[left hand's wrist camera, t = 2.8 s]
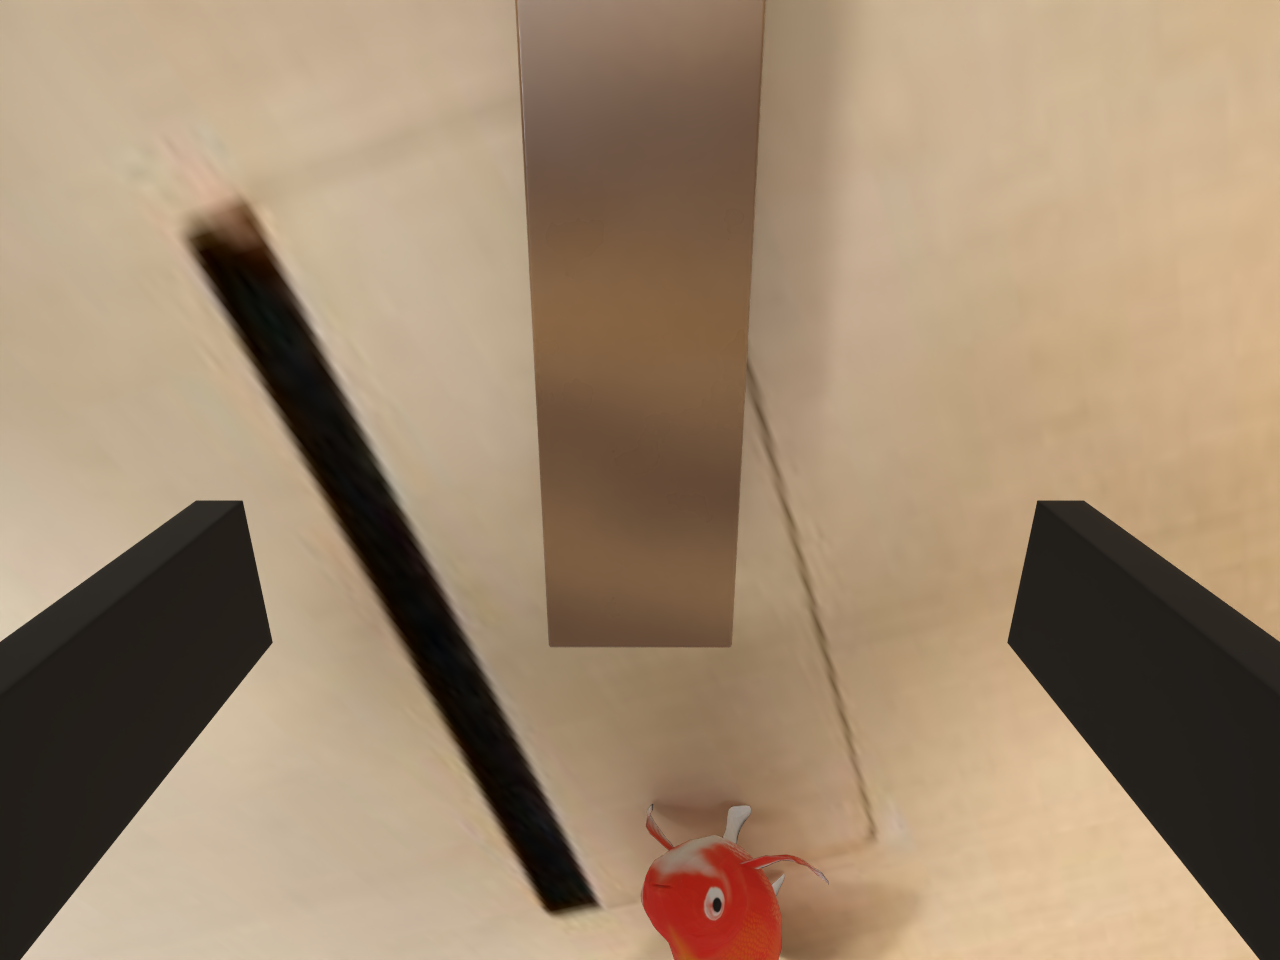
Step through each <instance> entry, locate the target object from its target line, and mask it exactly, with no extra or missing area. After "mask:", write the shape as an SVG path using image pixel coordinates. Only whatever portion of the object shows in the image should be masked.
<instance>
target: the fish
mask: <svg viewBox="0 0 1280 960" xmlns="http://www.w3.org/2000/svg"><path fill="white" fill-rule="evenodd" d="M652 810H653V804H652V805H651V806H650V807H649V808H648V809H647V823H646V827H647V829H648V831H649V832H650V834H651V835H652V836H653V837H655V838H656V839H657V840H658V841H659V842H660V843H661V844H662V845H663V846H664V847H665V848H667V849H668V850H669V851H668V852H667V853H665V854H664V855H662V856H661V857H659V858H658V859H656V860H655V861H654V862H653V864H652V865H651V867H650V868H649V870H648V872H647V874H646V877H645V881H644V884H643V887H642V891H641V901H642V905H643V907H644V909H645V911H646V913H647V915H648V917H649V918H650V920H651V922H652V924H653V926H654V927H655V928H656V930H657V931H658V932H659V933H660V934H661V935H662V936H663V937H664V938H665V939H666V940H667V941H668V942H669V945H670V948H671V951H672V954H673V957H674V960H778V959H779V955H780V952H781V913H780V909H779V905H778V902H777V898H776V895H777V893H778V891H779V889H780V887H781V885H782V883H783V881H784V874H783V875H782V876H781V877H780V878H779V879H778V880H777V881H775V882H774V883H773V884H772V885H771V883H770V882H769V880H768V879H767V877H766V875H765V874H764V872H763V871H762V869H761V868H763V867H766V866H768V865H770V864H773V863H775V862H778V861H781V860H787V861H793V862H796V863H798V864H802V865H805V866H808V867H809V868H810V869H811V870H812V871H813V872H814V873H815V874H817V875H818V876H819V877H821V878H822V879H823V880H825V881H826V882H827V883H828V884H829V882H828V880H827V879H826V878H825V876H824V875H823V873H822V872H820V871H819V870H818V869H816V868H814V867H813V866H811V865H809V864H808V863H807V862H805V861H804V860H802V859H800V858H797V857H795V856H790V855H777V856H762V857H759V858H755V859H753V858H752V857H751V856H750V855H749V854H748V853H747V852H746V851H745V850H744V849H743V848H741V847H740V846H738V845H737V838H738V834H739V831H740V829H741V827H742V825H743V824H744V822H745V821H746V819H747V818H748V817H749V815H750V814H751V808H750V806H748V805H743V806H733V807H731V808H730V809H729V811H728V815H727V825H726V830H725V833H724V836H723V838H722V837H720V836H717V835H712V836H707V837H703V838H699V839H694V840H689V841H687V842H685V843H683V844H681V845H679V846H677V847H673V845H672V844H671V843H670V842H669V840H668V839H667V838H666V837H665V836H664V834H663V833H662V832H661V830H660V829H659V828H658V826H657V825H656V824H655V822H654V820H653V818H652V817H651V815H650V813H651V812H652Z"/></svg>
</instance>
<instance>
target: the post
mask: <svg viewBox="0 0 1280 960" xmlns="http://www.w3.org/2000/svg"><path fill="white" fill-rule="evenodd" d="M515 5H516V24H517V43H518V62H519V81H520V100H521V119H522V138H523V157H524V176H525V196H526V215H527V234H528V253H529V272H530V291H531V310H532V329H533V348H534V367H535V386H536V405H537V424H538V443H539V462H540V482H541V501H542V520H543V539H544V558H545V577H546V596H547V615H548V634H549V645H550V647H731V645H732V630H733V611H734V592H735V573H736V554H737V535H738V517H739V498H740V479H741V460H742V441H743V422H744V403H745V384H746V365H747V346H748V328H749V309H750V290H751V271H752V252H753V233H754V214H755V195H756V176H757V158H758V139H759V120H760V101H761V82H762V63H763V44H764V25H765V6H766V0H515Z"/></svg>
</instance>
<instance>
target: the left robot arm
mask: <svg viewBox="0 0 1280 960" xmlns="http://www.w3.org/2000/svg"><path fill="white" fill-rule="evenodd" d="M272 643H273V642H272V637H271V633H270V628H269V623H268V618H267V614H266V609H265V604H264V600H263V595H262V590H261V585H260V581H259V576H258V571H257V566H256V562H255V557H254V552H253V548H252V543H251V538H250V533H249V529H248V524H247V519H246V515H245V510H244V505H243V501H195V502H194V503H192V504H191V505H189V506H188V507H187V508H185V509H184V510H183V511H181V512H180V513H178V514H177V515H176V516H174V517H173V518H171V519H170V520H169V521H167V522H166V523H164V524H163V525H162V526H160V527H159V528H158V529H156V530H155V531H153V532H152V533H151V534H149V535H148V536H146V537H145V538H144V539H142V540H141V541H140V542H138V543H137V544H135V545H134V546H133V547H131V548H130V549H128V550H127V551H126V552H124V553H123V554H122V555H120V556H119V557H117V558H116V559H115V560H113V561H112V562H110V563H109V564H108V565H106V566H105V567H103V568H102V569H101V570H99V571H98V572H97V573H95V574H94V575H92V576H91V577H90V578H88V579H87V580H85V581H84V582H83V583H81V584H80V585H79V586H77V587H76V588H74V589H73V590H72V591H70V592H69V593H67V594H66V595H65V596H63V597H62V598H60V599H59V600H58V601H56V602H55V603H54V604H52V605H51V606H49V607H48V608H47V609H45V610H44V611H42V612H41V613H40V614H38V615H37V616H36V617H34V618H33V619H31V620H30V621H29V622H27V623H26V624H24V625H23V626H22V627H20V628H19V629H18V630H16V631H15V632H13V633H12V634H11V635H9V636H8V637H6V638H5V639H4V640H2V641H1V642H0V960H21V958H22V957H23V956H24V954H25V953H26V952H27V951H28V949H29V948H30V947H31V946H32V944H33V943H34V942H35V941H36V939H37V938H38V937H39V936H40V934H41V933H42V932H43V931H44V929H45V928H46V927H47V926H48V924H49V923H50V922H51V921H52V919H53V918H54V917H55V916H56V914H57V913H58V912H59V910H60V909H61V908H62V907H63V905H64V904H65V903H66V902H67V900H68V899H69V898H70V897H71V895H72V894H73V893H74V892H75V890H76V889H77V888H78V887H79V885H80V884H81V883H82V882H83V880H84V879H85V878H86V877H87V875H88V874H89V873H90V872H91V870H92V869H93V868H94V866H95V865H96V864H97V863H98V861H99V860H100V859H101V858H102V856H103V855H104V854H105V853H106V851H107V850H108V849H109V848H110V846H111V845H112V844H113V843H114V841H115V840H116V839H117V838H118V836H119V835H120V834H121V833H122V831H123V830H124V829H125V827H126V826H127V825H128V824H129V822H130V821H131V820H132V819H133V817H134V816H135V815H136V814H137V812H138V811H139V810H140V809H141V807H142V806H143V805H144V804H145V802H146V801H147V800H148V799H149V797H150V796H151V795H152V794H153V792H154V791H155V790H156V789H157V787H158V786H159V785H160V783H161V782H162V781H163V780H164V778H165V777H166V776H167V775H168V773H169V772H170V771H171V770H172V768H173V767H174V766H175V765H176V763H177V762H178V761H179V760H180V758H181V757H182V756H183V755H184V753H185V752H186V751H187V750H188V748H189V747H190V746H191V745H192V743H193V742H194V741H195V739H196V738H197V737H198V736H199V734H200V733H201V732H202V731H203V729H204V728H205V727H206V726H207V724H208V723H209V722H210V721H211V719H212V718H213V717H214V716H215V714H216V713H217V712H218V711H219V709H220V708H221V707H222V706H223V704H224V703H225V702H226V701H227V699H228V698H229V697H230V695H231V694H232V693H233V692H234V690H235V689H236V688H237V687H238V685H239V684H240V683H241V682H242V680H243V679H244V678H245V677H246V675H247V674H248V673H249V672H250V670H251V669H252V668H253V667H254V665H255V664H256V663H257V662H258V660H259V659H260V658H261V656H262V655H263V654H264V653H265V651H266V650H267V649H268V648H269V646H270V645H271V644H272ZM1007 643H1008V644H1009V645H1010V646H1011V648H1012V649H1013V650H1014V651H1015V653H1016V654H1017V655H1018V657H1019V658H1020V659H1021V660H1022V662H1023V663H1024V664H1025V665H1026V667H1027V668H1028V669H1029V670H1030V672H1031V673H1032V674H1033V675H1034V677H1035V678H1036V679H1037V680H1038V682H1039V683H1040V684H1041V685H1042V687H1043V688H1044V689H1045V690H1046V692H1047V693H1048V694H1049V695H1050V697H1051V698H1052V699H1053V701H1054V702H1055V703H1056V704H1057V706H1058V707H1059V708H1060V709H1061V711H1062V712H1063V713H1064V714H1065V716H1066V717H1067V718H1068V719H1069V721H1070V722H1071V723H1072V724H1073V726H1074V727H1075V728H1076V729H1077V731H1078V732H1079V733H1080V734H1081V736H1082V737H1083V738H1084V739H1085V741H1086V742H1087V743H1088V745H1089V746H1090V747H1091V748H1092V750H1093V751H1094V752H1095V753H1096V755H1097V756H1098V757H1099V758H1100V760H1101V761H1102V762H1103V763H1104V765H1105V766H1106V767H1107V768H1108V770H1109V771H1110V772H1111V773H1112V775H1113V776H1114V777H1115V778H1116V780H1117V781H1118V782H1119V783H1120V785H1121V786H1122V787H1123V789H1124V790H1125V791H1126V792H1127V794H1128V795H1129V796H1130V797H1131V799H1132V800H1133V801H1134V802H1135V804H1136V805H1137V806H1138V807H1139V809H1140V810H1141V811H1142V812H1143V814H1144V815H1145V816H1146V817H1147V819H1148V820H1149V821H1150V822H1151V824H1152V825H1153V826H1154V828H1155V829H1156V830H1157V831H1158V833H1159V834H1160V835H1161V836H1162V838H1163V839H1164V840H1165V841H1166V843H1167V844H1168V845H1169V846H1170V848H1171V849H1172V850H1173V851H1174V853H1175V854H1176V855H1177V856H1178V858H1179V859H1180V860H1181V861H1182V863H1183V864H1184V865H1185V866H1186V868H1187V869H1188V870H1189V872H1190V873H1191V874H1192V875H1193V877H1194V878H1195V879H1196V880H1197V882H1198V883H1199V884H1200V885H1201V887H1202V888H1203V889H1204V890H1205V892H1206V893H1207V894H1208V895H1209V897H1210V898H1211V899H1212V900H1213V902H1214V903H1215V904H1216V905H1217V907H1218V908H1219V909H1220V910H1221V912H1222V913H1223V914H1224V916H1225V917H1226V918H1227V919H1228V921H1229V922H1230V923H1231V924H1232V926H1233V927H1234V928H1235V929H1236V931H1237V932H1238V933H1239V934H1240V936H1241V937H1242V938H1243V939H1244V941H1245V942H1246V943H1247V944H1248V946H1249V947H1250V948H1251V949H1252V951H1253V952H1254V953H1255V954H1256V956H1257V957H1258V958H1259V960H1280V642H1279V641H1278V640H1276V639H1275V638H1274V637H1272V636H1271V635H1269V634H1268V633H1267V632H1265V631H1264V630H1262V629H1261V628H1260V627H1258V626H1257V625H1256V624H1254V623H1253V622H1251V621H1250V620H1249V619H1247V618H1246V617H1244V616H1243V615H1242V614H1240V613H1239V612H1238V611H1236V610H1235V609H1233V608H1232V607H1231V606H1229V605H1228V604H1226V603H1225V602H1224V601H1222V600H1221V599H1219V598H1218V597H1217V596H1215V595H1214V594H1213V593H1211V592H1210V591H1208V590H1207V589H1206V588H1204V587H1203V586H1201V585H1200V584H1199V583H1197V582H1196V581H1195V580H1193V579H1192V578H1190V577H1189V576H1188V575H1186V574H1185V573H1183V572H1182V571H1181V570H1179V569H1178V568H1177V567H1175V566H1174V565H1172V564H1171V563H1170V562H1168V561H1167V560H1165V559H1164V558H1163V557H1161V556H1160V555H1158V554H1157V553H1156V552H1154V551H1153V550H1152V549H1150V548H1149V547H1147V546H1146V545H1145V544H1143V543H1142V542H1140V541H1139V540H1138V539H1136V538H1135V537H1134V536H1132V535H1131V534H1129V533H1128V532H1127V531H1125V530H1124V529H1122V528H1121V527H1120V526H1118V525H1117V524H1115V523H1114V522H1113V521H1111V520H1110V519H1109V518H1107V517H1106V516H1104V515H1103V514H1102V513H1100V512H1099V511H1097V510H1096V509H1095V508H1093V507H1092V506H1091V505H1089V504H1088V503H1086V502H1085V501H1037V505H1036V510H1035V515H1034V519H1033V524H1032V529H1031V533H1030V538H1029V543H1028V548H1027V552H1026V557H1025V562H1024V566H1023V571H1022V576H1021V581H1020V585H1019V590H1018V595H1017V600H1016V604H1015V609H1014V614H1013V618H1012V623H1011V628H1010V633H1009V637H1008V642H1007Z"/></svg>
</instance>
